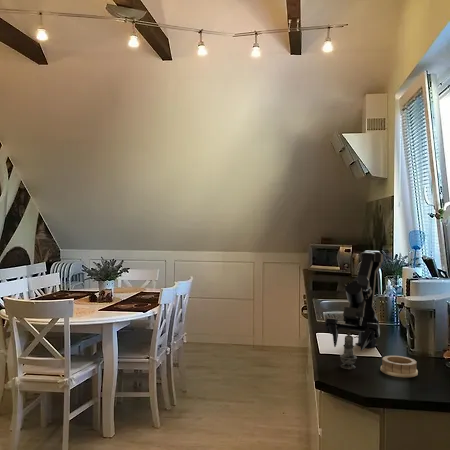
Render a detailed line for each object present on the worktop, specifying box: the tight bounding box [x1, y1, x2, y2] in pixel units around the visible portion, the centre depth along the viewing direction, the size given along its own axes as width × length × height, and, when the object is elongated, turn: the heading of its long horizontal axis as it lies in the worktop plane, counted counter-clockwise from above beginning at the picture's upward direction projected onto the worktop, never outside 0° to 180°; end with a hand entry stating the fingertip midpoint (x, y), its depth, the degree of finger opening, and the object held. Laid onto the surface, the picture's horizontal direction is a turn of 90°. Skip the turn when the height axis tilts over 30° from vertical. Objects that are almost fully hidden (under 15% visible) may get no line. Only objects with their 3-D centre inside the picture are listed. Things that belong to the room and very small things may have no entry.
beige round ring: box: [380, 355, 419, 379], centre depth 172 cm, size 12×12×4 cm
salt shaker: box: [339, 332, 358, 370], centre depth 176 cm, size 6×6×12 cm
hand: (347, 348), depth 175 cm, fingers open, 9 cm apart
